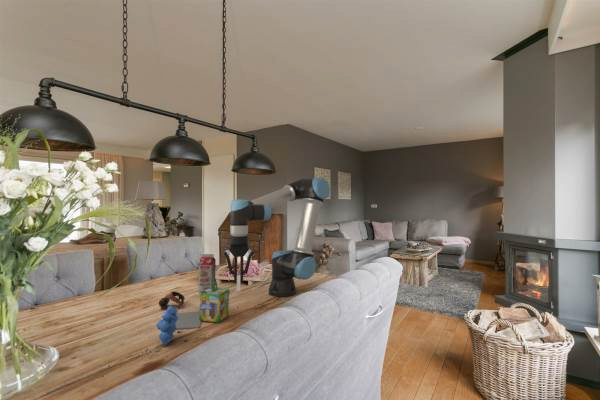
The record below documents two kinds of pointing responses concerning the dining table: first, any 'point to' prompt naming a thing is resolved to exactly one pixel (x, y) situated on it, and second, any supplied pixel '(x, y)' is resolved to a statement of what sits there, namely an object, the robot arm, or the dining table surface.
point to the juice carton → (206, 272)
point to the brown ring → (166, 299)
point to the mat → (188, 320)
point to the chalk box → (214, 304)
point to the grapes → (167, 325)
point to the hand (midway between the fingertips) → (238, 290)
